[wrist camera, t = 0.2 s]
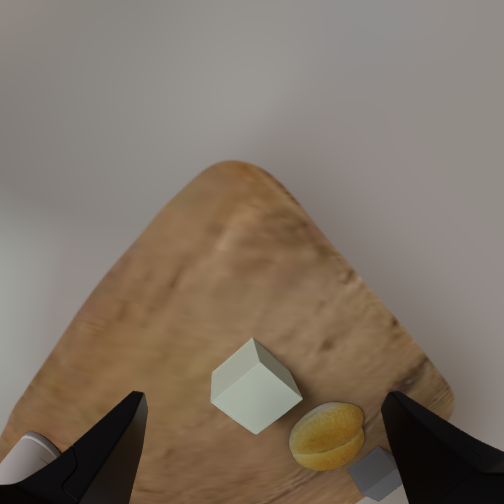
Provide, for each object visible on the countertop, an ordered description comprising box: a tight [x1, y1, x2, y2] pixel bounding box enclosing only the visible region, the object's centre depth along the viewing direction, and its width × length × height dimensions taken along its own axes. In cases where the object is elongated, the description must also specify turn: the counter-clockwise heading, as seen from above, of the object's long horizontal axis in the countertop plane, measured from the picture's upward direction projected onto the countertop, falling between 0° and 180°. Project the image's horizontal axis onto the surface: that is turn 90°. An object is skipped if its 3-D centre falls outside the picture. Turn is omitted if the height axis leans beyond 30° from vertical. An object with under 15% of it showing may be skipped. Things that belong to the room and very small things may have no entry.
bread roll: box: [289, 402, 364, 471], centre depth 25 cm, size 8×9×4 cm
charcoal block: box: [348, 446, 403, 501], centre depth 25 cm, size 5×5×5 cm
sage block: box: [211, 337, 303, 435], centre depth 22 cm, size 5×5×5 cm
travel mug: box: [0, 432, 60, 485], centre depth 13 cm, size 6×7×20 cm
